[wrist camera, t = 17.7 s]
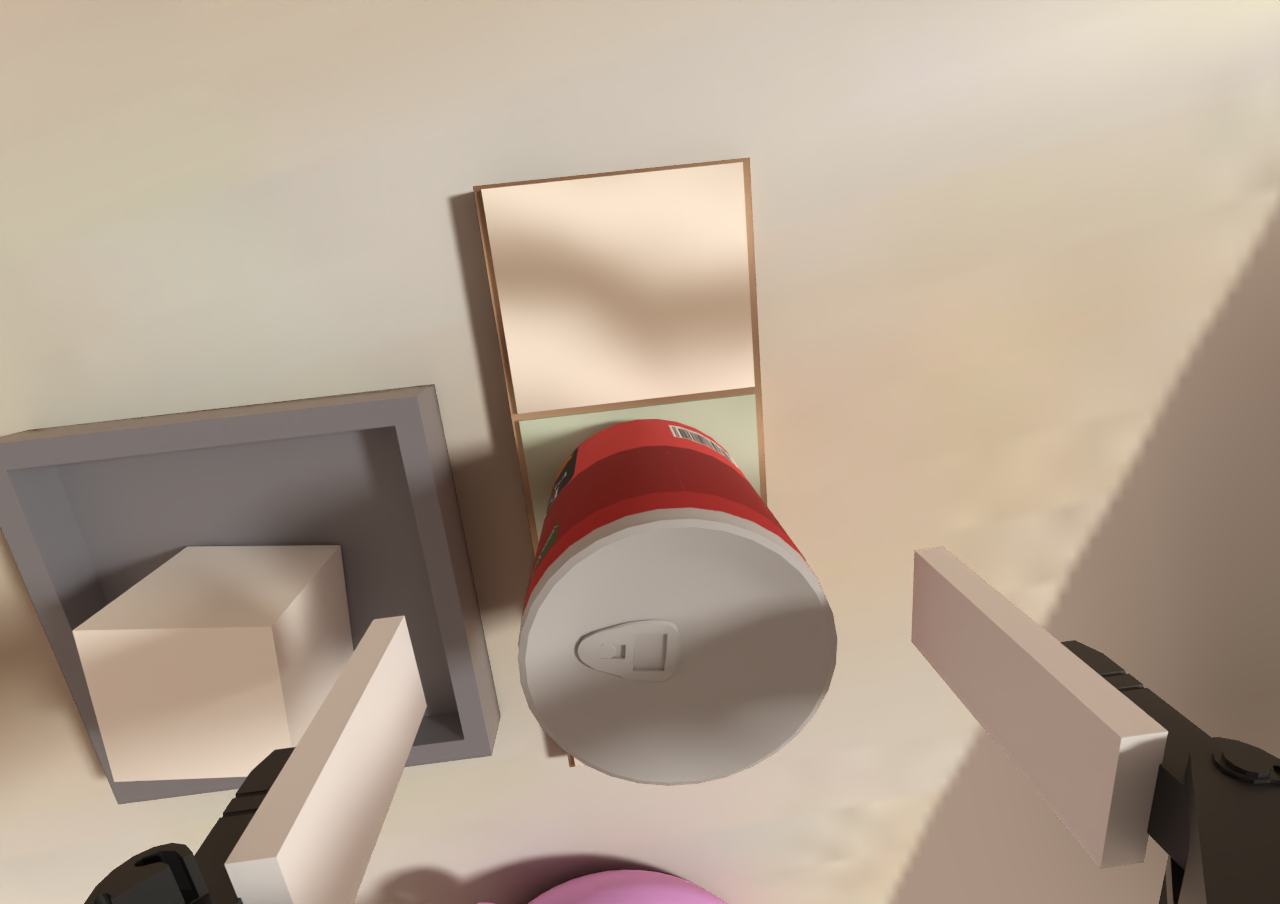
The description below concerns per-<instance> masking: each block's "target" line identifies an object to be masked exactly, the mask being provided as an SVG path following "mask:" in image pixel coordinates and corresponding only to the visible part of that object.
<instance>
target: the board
mask: <svg viewBox="0 0 1280 904" xmlns="http://www.w3.org/2000/svg"><path fill="white" fill-rule="evenodd" d="M473 190H474V196H475V202H476V208H477V214H478V220H479V226H480V232H481V238H482V244H483V250H484V256H485V262H486V268H487V274H488V280H489V286H490V292H491V298H492V304H493V310H494V316H495V322H496V328H497V334H498V340H499V346H500V352H501V358H502V364H503V370H504V376H505V382H506V388H507V394H508V400H509V406H510V412H511V418H512V424H513V430H514V436H515V442H516V448H517V454H518V460H519V466H520V472H521V478H522V484H523V490H524V496H525V502H526V508H527V514H528V520H529V526H530V532H531V538H532V544H533V550H534V556H536V552H537V548H538V544H539V540H540V536H541V532H542V527H543V523H544V519H545V515H546V511H547V507H548V503H549V498H550V494H551V490H552V487H553V485H554V482H555V479H556V477H557V474H558V472H559V470H560V469H561V467H562V466H563V464H564V463H565V461H566V459H567V458H568V457H569V456H570V454H571V453H572V452H573V451H574V450H575V449H576V448H577V447H578V446H579V445H580V444H581V443H583V442H584V441H586V440H587V439H588V438H590V437H591V436H593V435H594V434H596V433H597V432H599V431H602V430H604V429H606V428H609V427H611V426H613V425H615V424H619V423H623V422H628V421H632V420H639V419H661V420H668V421H675V422H679V423H682V424H685V425H687V426H690V427H693V428H696V429H697V430H699V431H701V432H703V433H704V434H706V435H708V436H710V437H711V438H713V439H714V440H715V441H716V442H717V443H718V444H719V445H721V446H722V447H723V448H724V449H725V450H726V451H727V452H728V454H729V455H730V456H731V458H732V459H733V461H734V462H735V463H736V465H737V466H738V467H739V469H740V470H741V471H742V473H743V474H744V476H745V477H746V478H747V480H748V481H749V482H750V484H751V485H752V487H753V488H754V489H755V491H756V492H757V493H758V495H759V496H760V498H761V499H762V500H763V502H764V503H765V504H766V506H767V493H766V473H765V454H764V434H763V414H762V394H761V374H760V354H759V334H758V314H757V294H756V274H755V254H754V234H753V214H752V195H751V175H750V158H741V159H732V160H722V161H712V162H703V163H693V164H683V165H674V166H664V167H655V168H645V169H635V170H626V171H616V172H607V173H597V174H587V175H578V176H568V177H559V178H549V179H539V180H530V181H520V182H511V183H501V184H491V185H482V186H473ZM567 754H568V753H567ZM568 760H569V766H570V767H574V766H575V767H579V766H586V765H585V764H583V763H582V762H580V761H579V760H577V759H576V758H574V757H573V756H571V755H570V754H568Z"/></svg>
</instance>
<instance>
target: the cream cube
mask: <svg viewBox="0 0 1280 904" xmlns="http://www.w3.org/2000/svg"><path fill="white" fill-rule="evenodd" d="M73 635H74V639H75V642H76V646H77V649H78V653H79V657H80V660H81V664H82V667H83V671H84V675H85V678H86V682H87V685H88V689H89V693H90V696H91V700H92V704H93V707H94V711H95V714H96V718H97V722H98V725H99V729H100V732H101V736H102V740H103V743H104V747H105V751H106V754H107V758H108V761H109V765H110V769H111V772H112V776H113V779H114V782H127V781H151V780H176V779H201V778H225V777H247V776H248V775H249V773H250V772H251V771H252V770H253V769H254V768H255V767H256V766H257V765H258V764H259V763H261V762H262V761H263V760H264V759H265V758H266V757H267V756H268V755H269V754H271V753H272V752H273V751H274V750H276V749H284V748H291V747H296V746H297V744H298V743H299V741H300V739H301V738H302V736H303V734H304V733H305V731H306V729H307V728H308V726H309V725H310V723H311V721H312V720H313V718H314V716H315V715H316V713H317V711H318V710H319V708H320V707H321V705H322V703H323V702H324V700H325V698H326V697H327V695H328V693H329V692H330V690H331V688H332V687H333V685H334V684H335V682H336V680H337V679H338V677H339V675H340V674H341V672H342V670H343V669H344V667H345V666H346V664H347V662H348V661H349V659H350V657H351V656H352V654H353V652H354V651H353V643H352V635H351V627H350V619H349V611H348V602H347V594H346V586H345V578H344V570H343V562H342V554H341V546H340V545H298V546H189V547H186V548H185V549H183V550H182V551H181V552H179V553H178V554H176V555H175V556H174V557H172V558H171V559H170V560H168V561H167V562H166V563H164V564H163V565H161V566H160V567H159V568H157V569H156V570H155V571H153V572H152V573H150V574H149V575H148V576H146V577H145V578H144V579H142V580H141V581H140V582H138V583H137V584H135V585H134V586H133V587H131V588H130V589H129V590H127V591H126V592H125V593H123V594H122V595H120V596H119V597H118V598H116V599H115V600H114V601H112V602H111V603H109V604H108V605H107V606H105V607H104V608H103V609H101V610H100V611H99V612H97V613H96V614H94V615H93V616H92V617H90V618H89V619H88V620H86V621H85V622H84V623H82V624H81V625H79V626H78V627H77V628H75V629H74V630H73Z"/></svg>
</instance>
